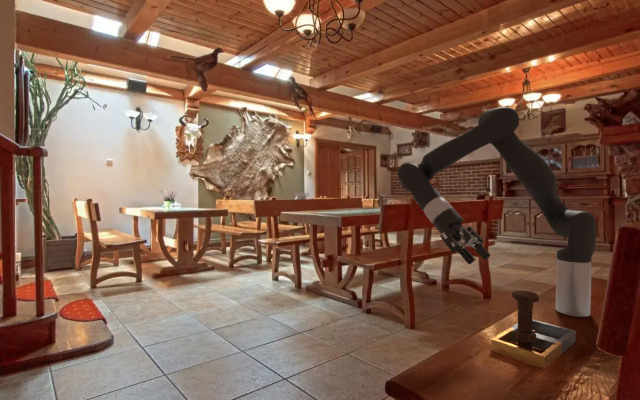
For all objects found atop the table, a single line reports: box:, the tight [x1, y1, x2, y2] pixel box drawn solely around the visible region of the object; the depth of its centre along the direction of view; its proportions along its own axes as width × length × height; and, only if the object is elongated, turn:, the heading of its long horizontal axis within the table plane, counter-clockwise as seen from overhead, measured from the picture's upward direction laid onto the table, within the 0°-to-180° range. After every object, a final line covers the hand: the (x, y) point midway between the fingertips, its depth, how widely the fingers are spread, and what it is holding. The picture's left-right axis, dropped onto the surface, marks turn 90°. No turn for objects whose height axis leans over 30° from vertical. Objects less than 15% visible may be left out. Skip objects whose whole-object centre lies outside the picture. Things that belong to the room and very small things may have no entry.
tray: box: [490, 318, 577, 370], centre depth 92 cm, size 22×12×3 cm, turn 129°
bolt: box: [511, 289, 540, 351], centre depth 88 cm, size 6×5×15 cm
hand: (480, 260), depth 96 cm, fingers open, 8 cm apart
